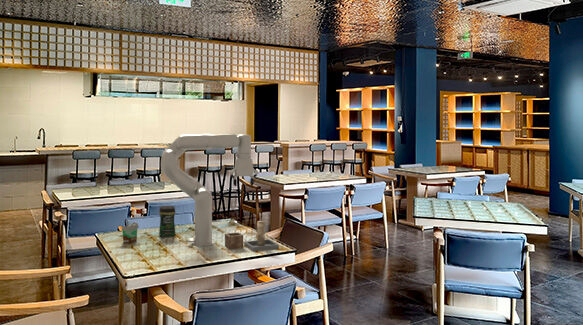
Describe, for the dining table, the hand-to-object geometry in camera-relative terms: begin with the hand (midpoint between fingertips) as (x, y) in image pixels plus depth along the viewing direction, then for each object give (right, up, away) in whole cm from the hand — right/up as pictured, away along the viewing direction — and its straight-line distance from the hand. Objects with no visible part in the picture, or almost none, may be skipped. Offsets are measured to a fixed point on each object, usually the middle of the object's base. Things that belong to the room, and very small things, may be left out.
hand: (243, 185), depth 270 cm
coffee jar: (-48, -32, +17) cm, 60 cm away
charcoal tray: (+11, -34, -12) cm, 38 cm away
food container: (-64, -33, +2) cm, 72 cm away
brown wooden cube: (-4, -34, -14) cm, 37 cm away
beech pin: (+11, -33, -13) cm, 37 cm away
